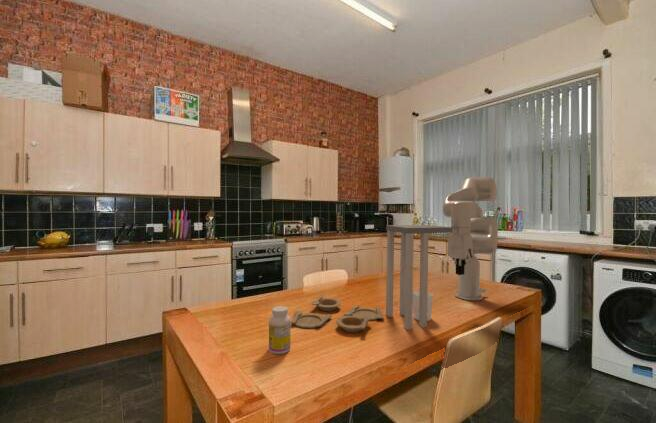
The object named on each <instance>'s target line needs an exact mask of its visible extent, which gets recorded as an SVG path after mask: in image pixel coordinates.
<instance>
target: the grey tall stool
mask: <svg viewBox="0 0 656 423" xmlns="http://www.w3.org/2000/svg"><path fill="white" fill-rule="evenodd" d="M385 227H386V232H387V233H386V234H387V236H386V281H385V282H386V283H385V286H386V290H385V295H386V296H385V303H386V304H385V316H386V317H388V318H392V317H393V316H394V275H395V274H394V270H395V269H394V268H395V266H394V262H395V260H394V258H395V256H394V255H395V232H396V233H400V270H399V275H400V276H399V278H400V280H399V314H400V315H401V316H404V317H403V318H404V321H403V322H404V324H403V326H404V327H403V328H404V329H405V330H407V331H410V330H412V329H413V290H414V289H413V288H414V287H413V286H414V242H415V241H414V237H415V235H414V234H420V248H419V250H420V251H419V291H420V297H419V320H418V326H419V327H420V328H422V329H423V328H427V327H428V321H427V292H429V291H428V287H429V286H428V285H429V280H428V279H429V274H428V273H429V235H430V234H450V233H452V229H453V227H451V226H441V225H431V224H402V225H401V224H399V225H398V224H397V225H396V224H395V225H394V224H389V225H388V224H386V226H385Z"/></svg>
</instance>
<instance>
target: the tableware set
mask: <svg viewBox="0 0 656 423" xmlns="http://www.w3.org/2000/svg"><path fill="white" fill-rule="evenodd" d="M311 305H314V306H317V307H318V308H319V309H320V310H321V311H323V312H332V311H335V310H336V308H337V307H338V308H339V306H341V305H342V302H341V301H340V300H339V299H336V298H331V297H324V295H322V294H320V295H319V296H318V297H317V299H316V300H313V301H311ZM293 315H294V316H293V317H292V318H291V325H294V326H295V327H298V328H301V329H316V328H320V327H323V326H325V324H326V323H327V321H328V320H330V319H331V318H332V316H333V314H329V313H328V314H326V315H322V314H320V313H319V314H318V313H315V312H314V313H313V312H311V313H310V312H308V313H303V311H302V310H295V311H294V313H293ZM379 319H380V320H381V319H382V320H384V319H385V316H384V315H383V312H382V311H381V308H380V307H377V306H376V307H375V308H374V307H361V306H360V305H357V304H356V305H355V306H353V307H352V308H350V309H349V310H347V311H346V312H344V313H343V316H339V317H338V318H337V319H336V320H335V321H336V322H335V323H336V325H337V326H338V327H340V328H342V330H343V331H345V332H347V333H358V332H360V331H362V330H365V329H366V327H368V325H369V321H377V320H379Z"/></svg>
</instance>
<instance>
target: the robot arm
mask: <svg viewBox="0 0 656 423" xmlns="http://www.w3.org/2000/svg"><path fill="white" fill-rule="evenodd" d="M497 197H498V190H497V183H496V182H495V180H494V178H492V177H490V176H479V177H478V176H476V177H474V176H473V177H467V178H466V179H465V180H464V181H463V183H462V185H461V188H460V189H458V190H456V191H455V192H453V193H450V194H449V195H447V197H445V200H444V203H443V206H442V213H443V215H444V216H445V217H447V218H450V227H453V229H452V233H448V238H447V239H448V240H447V249H446V250H447V252H446V253H447V256H448V257H449V258H450V259H451V260H453V261H454V262H453V263H454V265H455V275H457V276H458V284H457V286H458V288H457V289H458V290H457V291H455V292H454V296H455V297H456V298H457V299H462V300H465V301H471V302H473V301H474V302H475V301H481V300H482V301H483V295H482V293H483V294H484V293H487V288H481V287H480V279H481V278H480V276H481V275H480V273H481V270H480V268H481V263H480V260H479V259H478V257H477V256H476V255H475V254H477V255H478V254H479V255H491V256H492V255H495V253H496V252H497V248H498V239H499V238H498V237H499V236H498V235H499V234H498V233H499V224H498V220H497V218H495V217H494V216H483V210H482V208H481V206H480V205H478V203H477V202H492V201H495V200H496V199H497Z"/></svg>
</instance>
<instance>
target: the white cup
mask: <svg viewBox="0 0 656 423" xmlns="http://www.w3.org/2000/svg"><path fill="white" fill-rule="evenodd" d="M419 297H420V290H414V291H413V302H412V318H413V319H415V320H417V321H419ZM433 297H434V294H433V293H432V292H430V291H428V292H427V322H429V321H431V319H432V312H433V311H432V310H433V302H434V301H433V299H434V298H433Z"/></svg>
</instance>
